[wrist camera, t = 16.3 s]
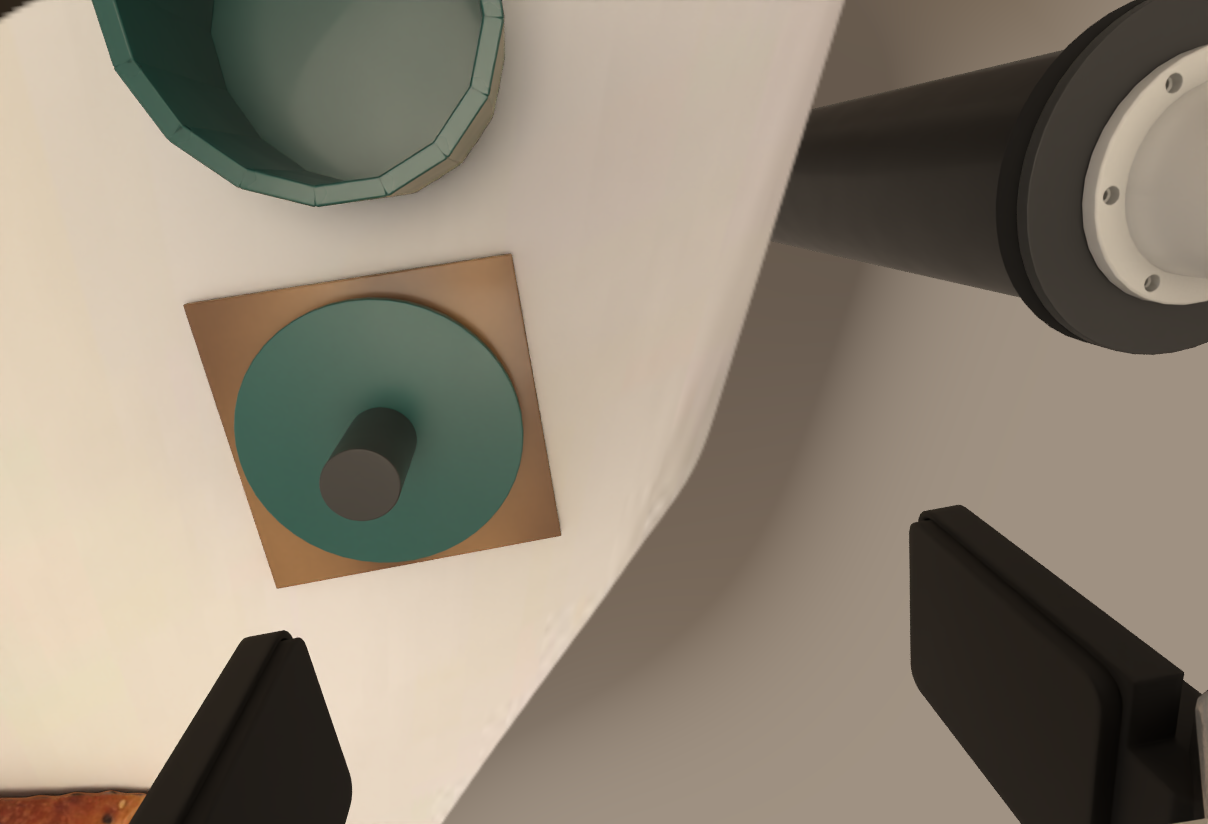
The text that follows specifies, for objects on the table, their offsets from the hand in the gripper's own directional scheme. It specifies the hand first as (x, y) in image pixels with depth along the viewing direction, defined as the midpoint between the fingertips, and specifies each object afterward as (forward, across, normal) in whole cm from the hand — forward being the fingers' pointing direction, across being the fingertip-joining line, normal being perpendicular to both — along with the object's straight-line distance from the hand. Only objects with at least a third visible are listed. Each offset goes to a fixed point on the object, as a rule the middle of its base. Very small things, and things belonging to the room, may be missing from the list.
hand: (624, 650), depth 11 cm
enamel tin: (+26, +6, -13) cm, 30 cm away
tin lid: (+24, +9, +4) cm, 26 cm away
